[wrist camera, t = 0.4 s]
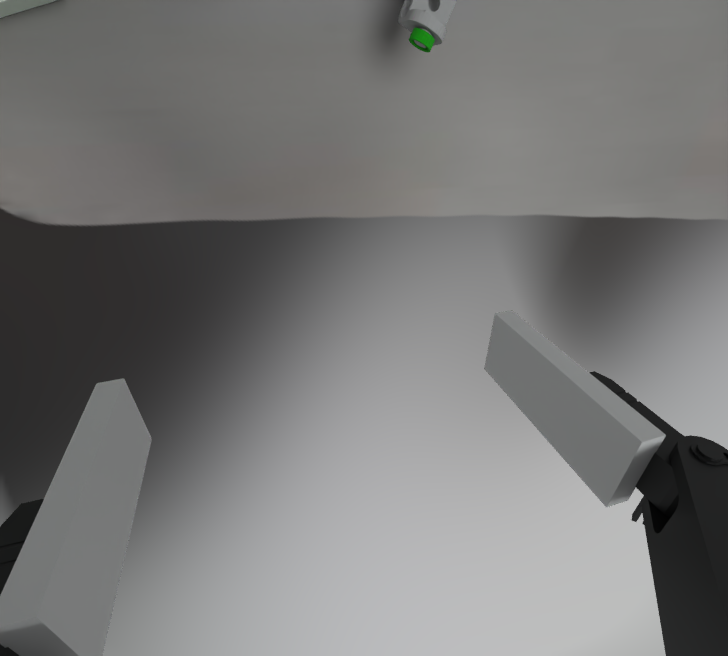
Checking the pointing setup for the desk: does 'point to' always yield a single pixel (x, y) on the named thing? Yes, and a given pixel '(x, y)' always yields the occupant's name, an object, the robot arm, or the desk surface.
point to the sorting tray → (19, 6)
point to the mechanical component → (426, 21)
